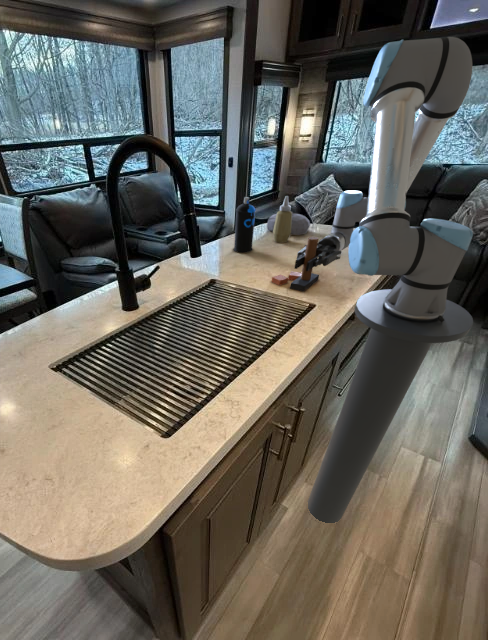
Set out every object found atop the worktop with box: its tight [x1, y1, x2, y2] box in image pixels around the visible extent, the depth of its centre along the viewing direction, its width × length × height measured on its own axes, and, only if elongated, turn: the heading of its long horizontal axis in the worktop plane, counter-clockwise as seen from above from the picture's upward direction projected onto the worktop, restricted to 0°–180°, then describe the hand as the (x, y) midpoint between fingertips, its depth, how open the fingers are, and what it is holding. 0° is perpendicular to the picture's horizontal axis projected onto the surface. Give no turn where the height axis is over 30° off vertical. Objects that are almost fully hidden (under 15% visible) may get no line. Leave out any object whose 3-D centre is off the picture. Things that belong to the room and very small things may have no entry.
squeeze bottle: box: [272, 195, 293, 244], centre depth 148 cm, size 8×8×18 cm
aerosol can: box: [233, 196, 257, 254], centre depth 140 cm, size 8×8×20 cm
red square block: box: [271, 274, 289, 286], centre depth 117 cm, size 4×4×2 cm
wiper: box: [289, 236, 320, 293], centre depth 111 cm, size 5×12×15 cm, turn 141°
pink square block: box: [287, 270, 302, 282], centre depth 119 cm, size 4×4×2 cm
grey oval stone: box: [266, 212, 311, 236], centre depth 162 cm, size 15×8×20 cm
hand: (301, 265), depth 107 cm, fingers closed on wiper, 3 cm apart
